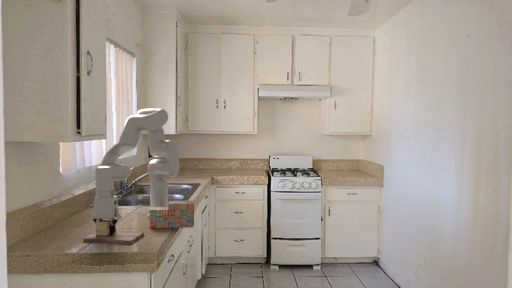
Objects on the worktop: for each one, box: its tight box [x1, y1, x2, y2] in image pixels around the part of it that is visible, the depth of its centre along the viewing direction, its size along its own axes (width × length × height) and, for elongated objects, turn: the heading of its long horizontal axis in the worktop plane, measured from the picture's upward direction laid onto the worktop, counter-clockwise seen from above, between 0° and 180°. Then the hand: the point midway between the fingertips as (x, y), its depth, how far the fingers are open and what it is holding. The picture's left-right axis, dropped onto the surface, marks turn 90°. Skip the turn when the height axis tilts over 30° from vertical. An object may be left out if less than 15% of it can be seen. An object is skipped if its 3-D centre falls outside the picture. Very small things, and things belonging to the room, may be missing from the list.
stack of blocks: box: [149, 200, 195, 229], centre depth 173 cm, size 21×6×12 cm, turn 95°
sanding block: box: [95, 217, 117, 237], centre depth 157 cm, size 8×5×6 cm, turn 172°
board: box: [82, 230, 145, 245], centre depth 155 cm, size 12×22×2 cm, turn 82°
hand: (106, 232), depth 157 cm, fingers closed on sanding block, 5 cm apart
